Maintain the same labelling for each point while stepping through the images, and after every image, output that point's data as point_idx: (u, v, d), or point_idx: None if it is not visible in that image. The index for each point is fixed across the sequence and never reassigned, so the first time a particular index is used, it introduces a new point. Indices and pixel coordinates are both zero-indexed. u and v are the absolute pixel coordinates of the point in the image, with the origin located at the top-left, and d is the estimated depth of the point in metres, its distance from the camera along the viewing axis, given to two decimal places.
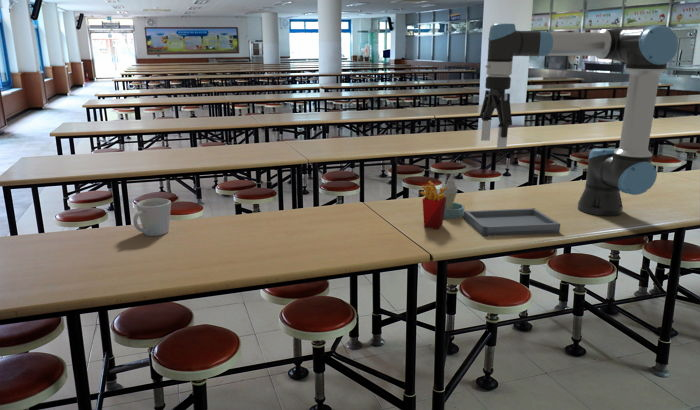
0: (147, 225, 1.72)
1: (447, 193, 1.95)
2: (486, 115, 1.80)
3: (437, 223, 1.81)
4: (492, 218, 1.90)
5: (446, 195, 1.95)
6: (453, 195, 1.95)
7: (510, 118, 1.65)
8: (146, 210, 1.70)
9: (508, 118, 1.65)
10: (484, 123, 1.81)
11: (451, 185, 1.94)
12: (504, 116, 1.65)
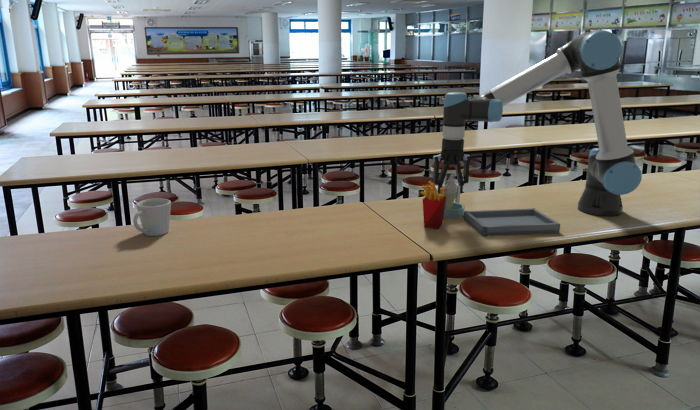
0: (147, 225, 1.72)
1: (447, 193, 1.95)
2: (457, 177, 1.96)
3: (437, 223, 1.81)
4: (492, 218, 1.90)
5: (446, 195, 1.95)
6: (453, 195, 1.95)
7: (434, 178, 1.93)
8: (146, 210, 1.70)
9: (434, 178, 1.94)
10: None
11: (451, 185, 1.94)
12: (433, 175, 1.95)
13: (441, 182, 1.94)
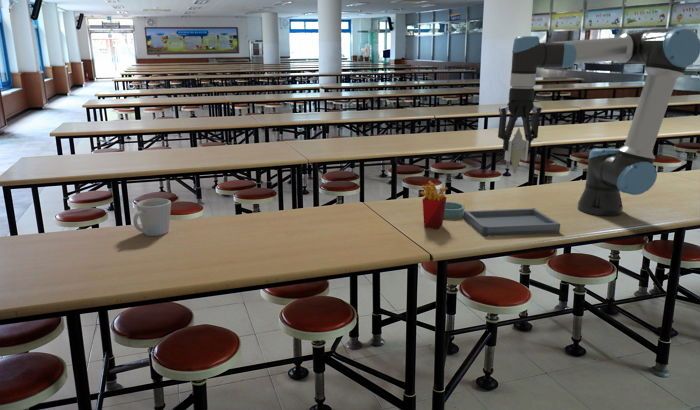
0: (147, 225, 1.72)
1: (514, 149, 1.77)
2: (525, 132, 1.78)
3: (437, 223, 1.81)
4: (492, 218, 1.90)
5: (513, 151, 1.77)
6: (521, 151, 1.77)
7: (501, 132, 1.75)
8: (146, 210, 1.70)
9: (500, 132, 1.76)
10: None
11: (519, 140, 1.76)
12: (499, 130, 1.77)
13: (508, 137, 1.76)
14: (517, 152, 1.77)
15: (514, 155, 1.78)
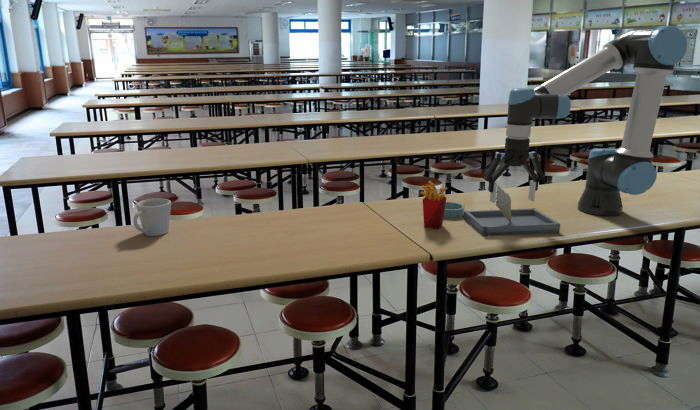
0: (147, 225, 1.72)
1: (501, 206, 1.81)
2: (530, 175, 1.83)
3: (437, 223, 1.81)
4: (492, 218, 1.90)
5: (501, 208, 1.81)
6: (508, 205, 1.81)
7: (488, 174, 1.79)
8: (146, 210, 1.70)
9: (487, 174, 1.79)
10: (530, 183, 1.84)
11: (502, 197, 1.80)
12: (487, 171, 1.80)
13: (494, 179, 1.79)
14: (505, 207, 1.81)
15: (503, 210, 1.82)
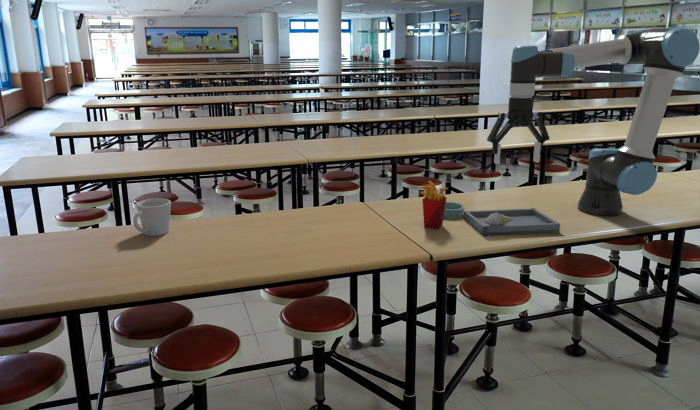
0: (147, 225, 1.72)
1: None
2: (535, 136, 1.79)
3: (437, 223, 1.81)
4: None
5: None
6: (502, 224, 1.78)
7: (491, 135, 1.75)
8: (146, 210, 1.70)
9: (491, 135, 1.76)
10: (535, 144, 1.80)
11: (493, 225, 1.77)
12: (490, 133, 1.77)
13: (498, 140, 1.76)
14: None
15: None
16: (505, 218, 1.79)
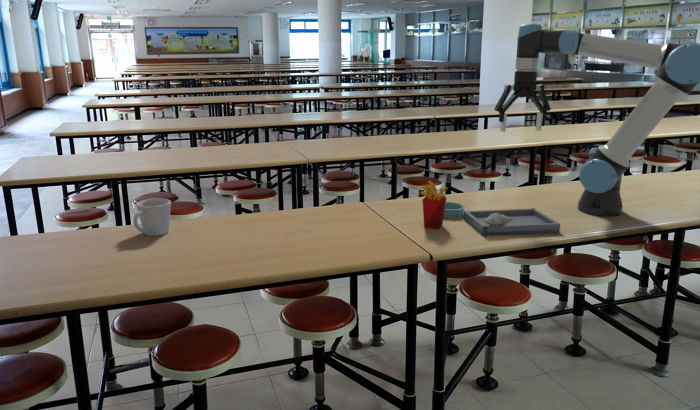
0: (147, 225, 1.72)
1: None
2: (537, 107, 1.99)
3: (437, 223, 1.81)
4: None
5: None
6: (502, 224, 1.78)
7: (498, 105, 1.95)
8: (146, 210, 1.70)
9: (498, 105, 1.95)
10: (537, 114, 2.00)
11: (493, 225, 1.77)
12: (497, 103, 1.96)
13: (504, 109, 1.95)
14: None
15: None
16: (505, 218, 1.79)
